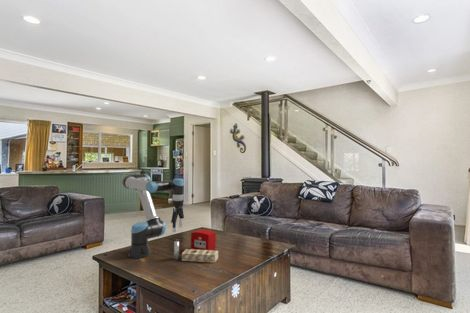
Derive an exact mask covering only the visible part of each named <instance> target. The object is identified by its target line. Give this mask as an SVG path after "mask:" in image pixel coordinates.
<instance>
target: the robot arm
mask: <svg viewBox="0 0 470 313" xmlns="http://www.w3.org/2000/svg"><path fill="white" fill-rule="evenodd" d="M121 184H122V186H123V187H124V188H125V189H127V190H128V189H129V190H135V192H136V193H137V194H138V196H139V200H140V203H141V206H142V208H143V212H144V216H145V219H146V221H139V222H135V223H133V224H132V225H131V230H130V233H131V234H130V236H131V237H130V238H131V243H130V244H131V245H130V248H129V251H128V258H130V257H131V258H130V259H142V258H146V257H149V256H150V255H151V249H150V246H149V244H148V243H149V241H148V240H149V239H152V238H153V239H154V238H159V237H161V236H163V235H164V234H165V232H166V228H167V225H166V222H165V221H164V220H161V217H159V215H158V214H157V211H156V208H155V204H154V201H153V197H152V195H151V193H158V192H159V193H160V192H172V206H173V207H174V208H173V209H172V216H171V221H170V223H171V224H172V226H171V227H172V228H171V230H172V233H177V230H178V229H177V227H178V228H183V227H184V226H183V224H184V221H183V220H184V218H185V215H184V208H183V207H184V197H185V195H184V193H185V192H184V190H185V189H184V188H185V187H184V186H185V183H184V179H183V178H173V180H163V181H162V180H160V181H154V180H152V178H151V176H150V175H149V174H147V173H141V174H140V173H138V174H137V173H136V174H128V175H125V176H124V177H123V178H122V182H121ZM178 217H179V218H178ZM177 219H178V224H177ZM177 225H178V226H177Z"/></svg>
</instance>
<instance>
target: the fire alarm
mask: <svg viewBox="0 0 470 313" xmlns="http://www.w3.org/2000/svg"><path fill="white" fill-rule="evenodd" d="M216 235H217V234H216V232H215V231H213V230H209V229H198V230H195V231H192V232H191V233H190V249H196V250H215V251H216V245H217V244H216V240H217V236H216Z"/></svg>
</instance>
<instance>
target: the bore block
mask: <svg viewBox="0 0 470 313" xmlns="http://www.w3.org/2000/svg"><path fill="white" fill-rule="evenodd" d="M218 259H219V250H216V249H215V250H196V249H191V248H186V249H185V250H184V251H183V252H182V253H181V261H184V262H199V263H201V262H202V263H213V264H214V263H216V262H217V260H218Z"/></svg>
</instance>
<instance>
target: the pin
mask: <svg viewBox="0 0 470 313" xmlns="http://www.w3.org/2000/svg"><path fill="white" fill-rule="evenodd" d="M173 259H174V260H176V261H177V260H180V241H177V240H174V242H173Z"/></svg>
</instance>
